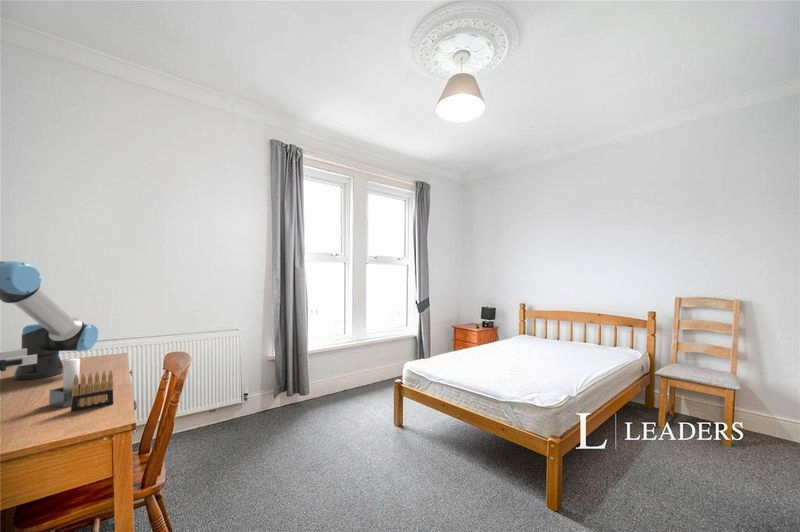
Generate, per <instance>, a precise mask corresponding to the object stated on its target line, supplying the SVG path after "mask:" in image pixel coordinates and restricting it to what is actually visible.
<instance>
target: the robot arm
mask: <svg viewBox="0 0 800 532" xmlns="http://www.w3.org/2000/svg"><path fill="white" fill-rule="evenodd" d="M40 276H41V273H40V270H38V268H36V267H35V265H32V264H30V263H27V262H22V261H15V260H14V261H11V260H10V261H9V260H8V261H0V301H1V302H3V303H5V304H14V306H16V307H18V309H20V310H21V311H22V312H24V313H25V314H26V315H27V316H29V317H30V318H31V320H34V322H36V323H35V324H29V325H27V324H26V325H25V326H24V327H23V328H22V334H21V348H20V349H13V350H11V349H10V350H2V351H0V371H1V372H6V371H7V369H10V368H16V369H15V371H14V373H13V379H14V378H15V379H14V380H17V379H28V380H36V379H37V380H38V379H44V378H49V377H54V376H57V375H61V374H62V373H63V374H64V363H63V362H62V359H61V357H60V352H83V351H88V350H90V349H92V348H93V347H94V346H95V345H96V343H97V341H98V339H99V328H98V327H97V326H96V325H95V324H89V323H88V324H86V323H84V322H83V321H82V320H81V319H79V318H78V317H72V316H70V315H69V313H67V312H66V311H65V310H64V309H62V307H61V306H59V304H58V303H56V302H55V301H54V300H53V299H52V298H50V297H49V296H48V295H47V294H46V293H45V292H44V291H43V290H42V289H41V284H42V283H41V282H42V278H41V277H40Z"/></svg>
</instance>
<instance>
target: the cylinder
mask: <svg viewBox="0 0 800 532" xmlns="http://www.w3.org/2000/svg"><path fill="white" fill-rule="evenodd" d="M63 367H64V370H63V379H62V380H63V382H62V383H63V384H62V386H63V391H64V392H68V391H72V389H73V384H74V378H75V376H76V374H77V375H78V379H79V380H80V368H81V359H80V358H69V359H65V360H64V361H63Z"/></svg>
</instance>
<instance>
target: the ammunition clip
mask: <svg viewBox="0 0 800 532" xmlns="http://www.w3.org/2000/svg"><path fill="white" fill-rule="evenodd" d="M106 372H107V371H106V370H103V372H102V374H101V380H100V373H99V371H96V372H95V376H94V378H93V374H92V372H89V374H88V378H87V377H86V375H85V373H83V374H82V375H81V376H80V378H79V379H78V375H77V374H76V376H75V378H74V384H73V389H72V405H71V406H70V413H75V412H79V411H80V412H81V411H85V410H90V409H96V408H101V407H106V406H111V405H114V374H113V370H112V369H110V370H109V372H108V378H107V373H106ZM86 378H87V380H86ZM93 379H94V380H93ZM93 381H94V382H93ZM79 384H80V391H79ZM86 385H87V391H86Z"/></svg>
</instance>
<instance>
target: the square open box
mask: <svg viewBox="0 0 800 532" xmlns="http://www.w3.org/2000/svg"><path fill="white" fill-rule="evenodd" d="M80 384H81V383H79V391H80ZM86 391H87V384H86ZM48 398H49V402H48V405H49V406H52V407H57V408H61V409H65V408H69V407H71V405H72V391H68V392H64V391H63V387H62V386H61V387H57V388H55V389H54V388H53V389H50V390H49V397H48Z"/></svg>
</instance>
